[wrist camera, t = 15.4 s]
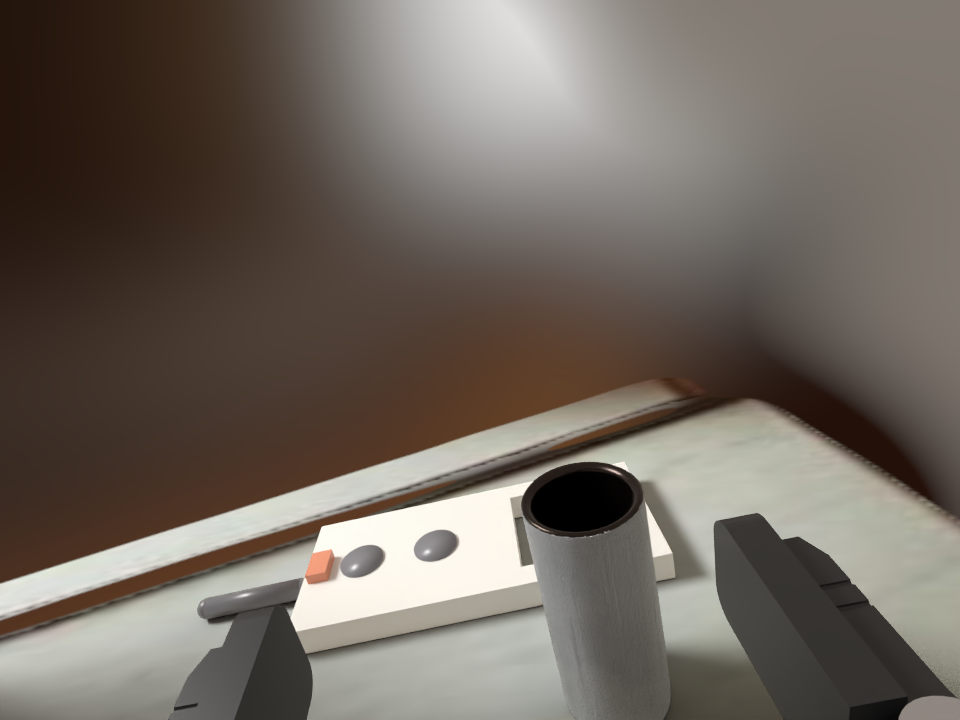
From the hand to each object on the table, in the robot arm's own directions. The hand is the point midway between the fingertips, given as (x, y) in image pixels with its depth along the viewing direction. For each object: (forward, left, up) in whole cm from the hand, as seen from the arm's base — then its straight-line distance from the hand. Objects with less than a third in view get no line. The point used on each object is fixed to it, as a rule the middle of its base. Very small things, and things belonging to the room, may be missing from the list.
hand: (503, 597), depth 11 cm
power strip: (-7, +20, -15) cm, 26 cm away
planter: (+3, +10, -15) cm, 18 cm away
